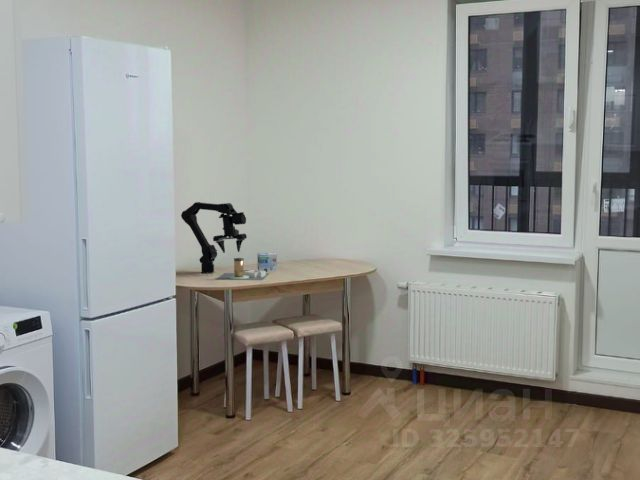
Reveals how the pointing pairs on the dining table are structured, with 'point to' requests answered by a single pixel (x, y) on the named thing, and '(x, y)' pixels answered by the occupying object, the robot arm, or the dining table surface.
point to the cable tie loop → (255, 273)
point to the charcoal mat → (226, 277)
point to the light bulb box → (267, 262)
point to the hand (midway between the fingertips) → (231, 252)
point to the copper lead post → (238, 267)
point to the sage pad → (239, 277)
